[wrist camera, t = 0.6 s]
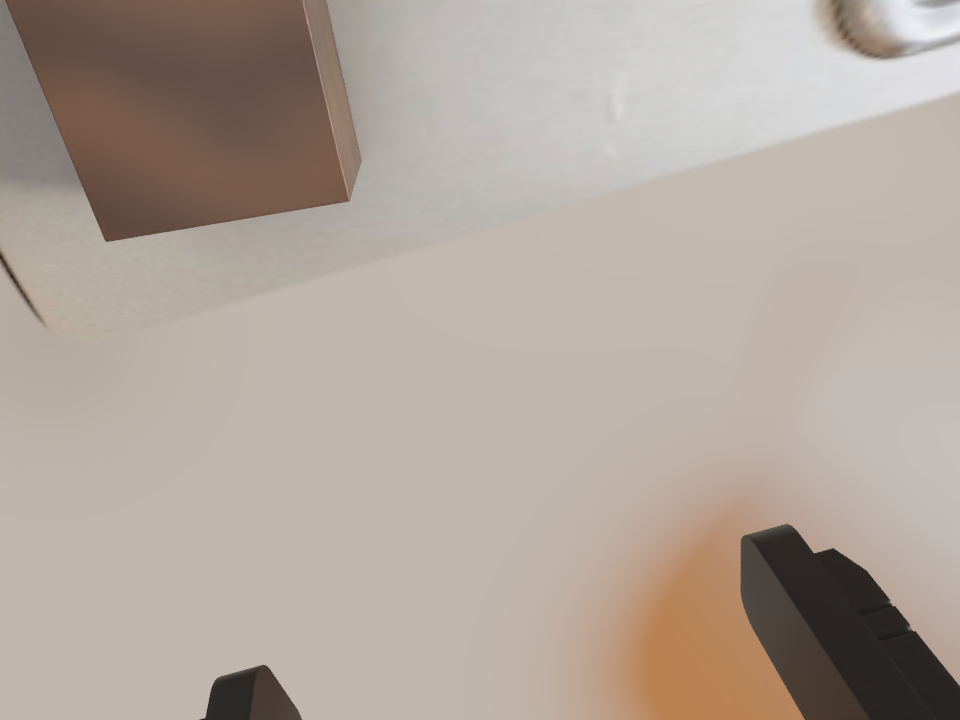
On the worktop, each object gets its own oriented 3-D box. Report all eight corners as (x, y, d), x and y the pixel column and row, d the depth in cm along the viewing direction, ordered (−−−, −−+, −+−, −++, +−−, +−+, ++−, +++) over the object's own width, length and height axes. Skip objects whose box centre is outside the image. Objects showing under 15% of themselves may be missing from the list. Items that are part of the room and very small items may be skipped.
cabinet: (65, -97, 28) (-53, -137, 21) (297, -133, 28) (259, -185, 21) (169, 193, 34) (105, 242, 26) (361, 161, 34) (350, 201, 27)
